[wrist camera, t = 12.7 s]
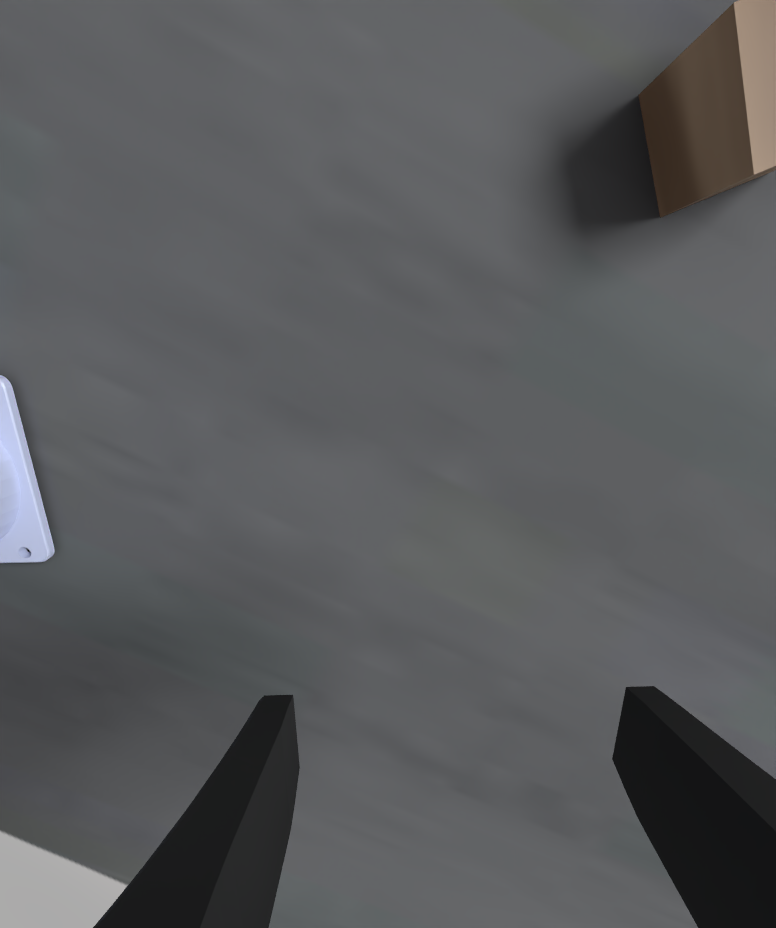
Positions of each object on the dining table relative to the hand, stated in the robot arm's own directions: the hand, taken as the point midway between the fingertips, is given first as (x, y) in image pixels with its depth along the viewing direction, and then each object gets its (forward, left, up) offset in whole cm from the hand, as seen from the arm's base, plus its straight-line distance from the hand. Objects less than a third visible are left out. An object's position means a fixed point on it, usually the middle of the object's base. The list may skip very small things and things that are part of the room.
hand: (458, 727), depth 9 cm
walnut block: (+10, +15, -10) cm, 21 cm away
